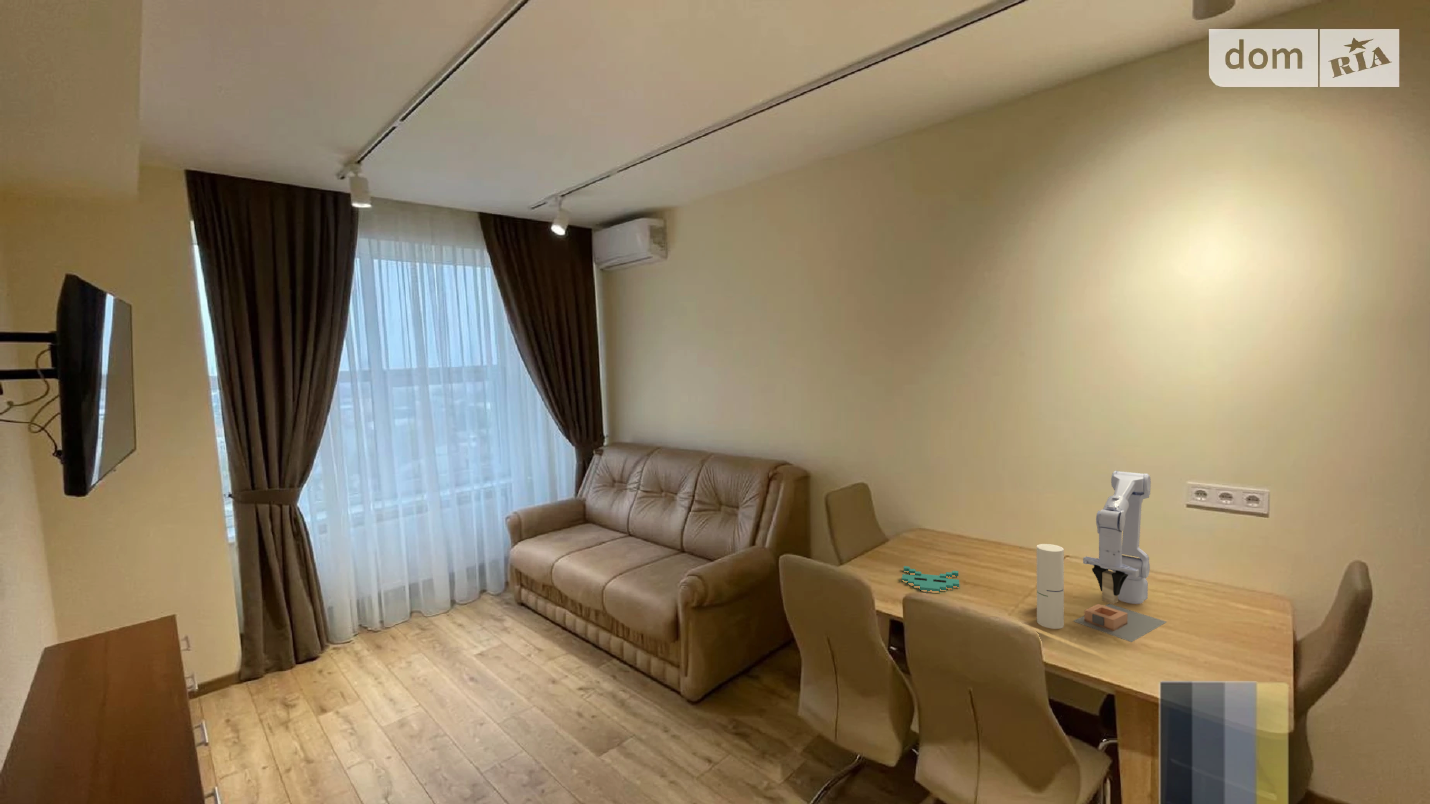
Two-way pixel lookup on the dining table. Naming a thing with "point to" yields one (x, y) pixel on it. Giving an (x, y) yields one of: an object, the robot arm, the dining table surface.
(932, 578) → the alien figure
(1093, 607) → the terracotta square frame
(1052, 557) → the cylindrical container
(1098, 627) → the slate board
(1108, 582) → the tan rectangular block
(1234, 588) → the dining table surface
